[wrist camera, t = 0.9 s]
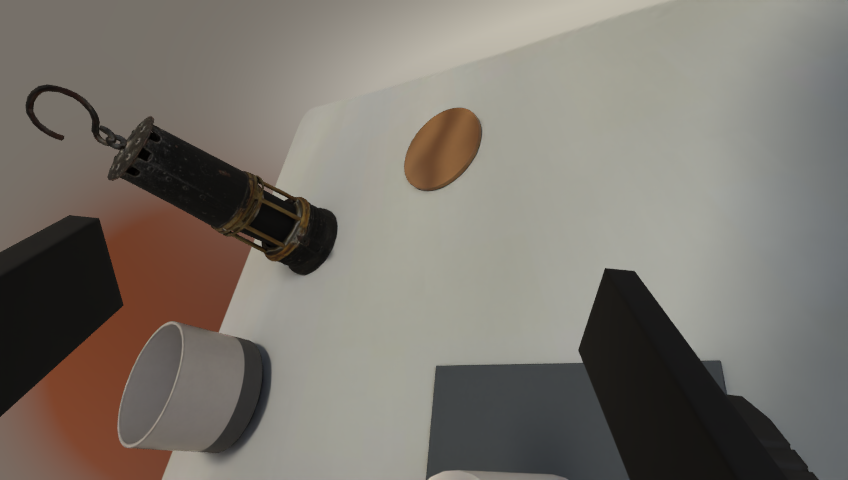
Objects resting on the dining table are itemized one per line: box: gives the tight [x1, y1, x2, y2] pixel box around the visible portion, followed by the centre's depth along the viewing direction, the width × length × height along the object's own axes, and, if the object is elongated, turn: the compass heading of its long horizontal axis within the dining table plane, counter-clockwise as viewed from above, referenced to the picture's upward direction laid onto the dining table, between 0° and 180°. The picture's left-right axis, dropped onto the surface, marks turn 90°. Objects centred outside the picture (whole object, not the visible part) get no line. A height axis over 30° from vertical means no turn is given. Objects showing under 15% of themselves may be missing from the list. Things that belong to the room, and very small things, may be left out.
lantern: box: [26, 85, 337, 275], centre depth 46 cm, size 9×9×30 cm
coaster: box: [404, 108, 481, 191], centre depth 47 cm, size 10×10×1 cm
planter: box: [118, 321, 262, 453], centre depth 50 cm, size 13×13×10 cm
